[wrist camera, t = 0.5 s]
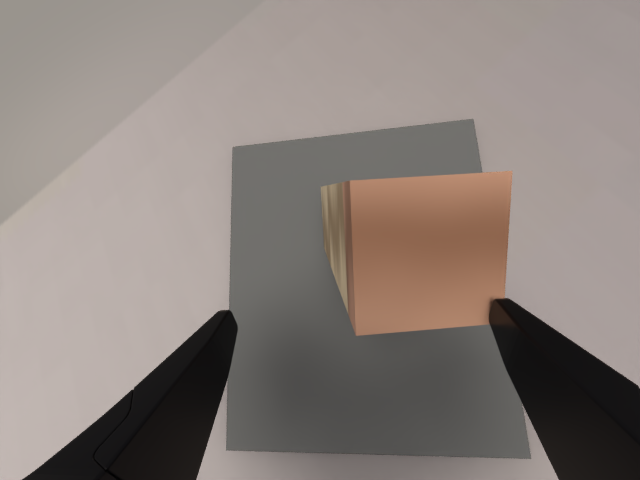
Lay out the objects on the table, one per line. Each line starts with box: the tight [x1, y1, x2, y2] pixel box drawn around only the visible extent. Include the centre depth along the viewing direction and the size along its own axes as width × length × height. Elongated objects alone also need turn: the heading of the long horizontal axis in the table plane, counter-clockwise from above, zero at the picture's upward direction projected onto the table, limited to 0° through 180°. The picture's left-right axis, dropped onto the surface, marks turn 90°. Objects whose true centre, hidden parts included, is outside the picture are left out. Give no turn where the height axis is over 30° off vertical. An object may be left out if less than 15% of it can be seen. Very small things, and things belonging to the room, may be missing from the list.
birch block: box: [321, 171, 512, 336], centre depth 16 cm, size 5×5×14 cm
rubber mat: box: [226, 119, 531, 459], centre depth 23 cm, size 26×22×1 cm
